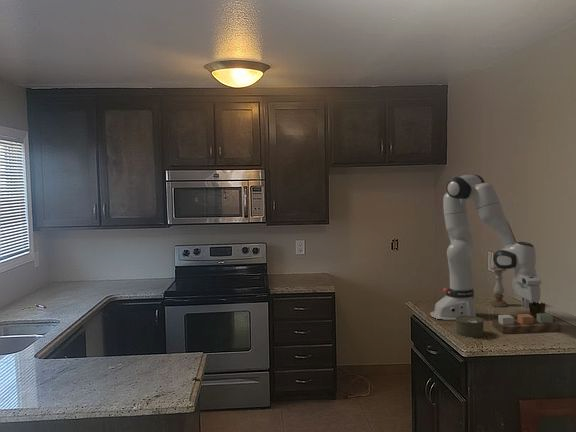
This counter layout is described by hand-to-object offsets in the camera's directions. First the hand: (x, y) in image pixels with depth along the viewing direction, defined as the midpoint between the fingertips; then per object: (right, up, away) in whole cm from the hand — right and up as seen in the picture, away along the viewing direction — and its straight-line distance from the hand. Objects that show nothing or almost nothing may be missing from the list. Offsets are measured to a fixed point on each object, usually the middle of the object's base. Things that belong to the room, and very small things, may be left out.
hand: (525, 307), depth 245 cm
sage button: (+9, -7, +1) cm, 12 cm away
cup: (+12, -9, +15) cm, 21 cm away
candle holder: (+6, -7, +45) cm, 46 cm away
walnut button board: (0, -10, +1) cm, 10 cm away
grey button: (-9, -8, 0) cm, 12 cm away
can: (-27, -12, -4) cm, 30 cm away
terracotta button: (0, -7, +1) cm, 7 cm away
